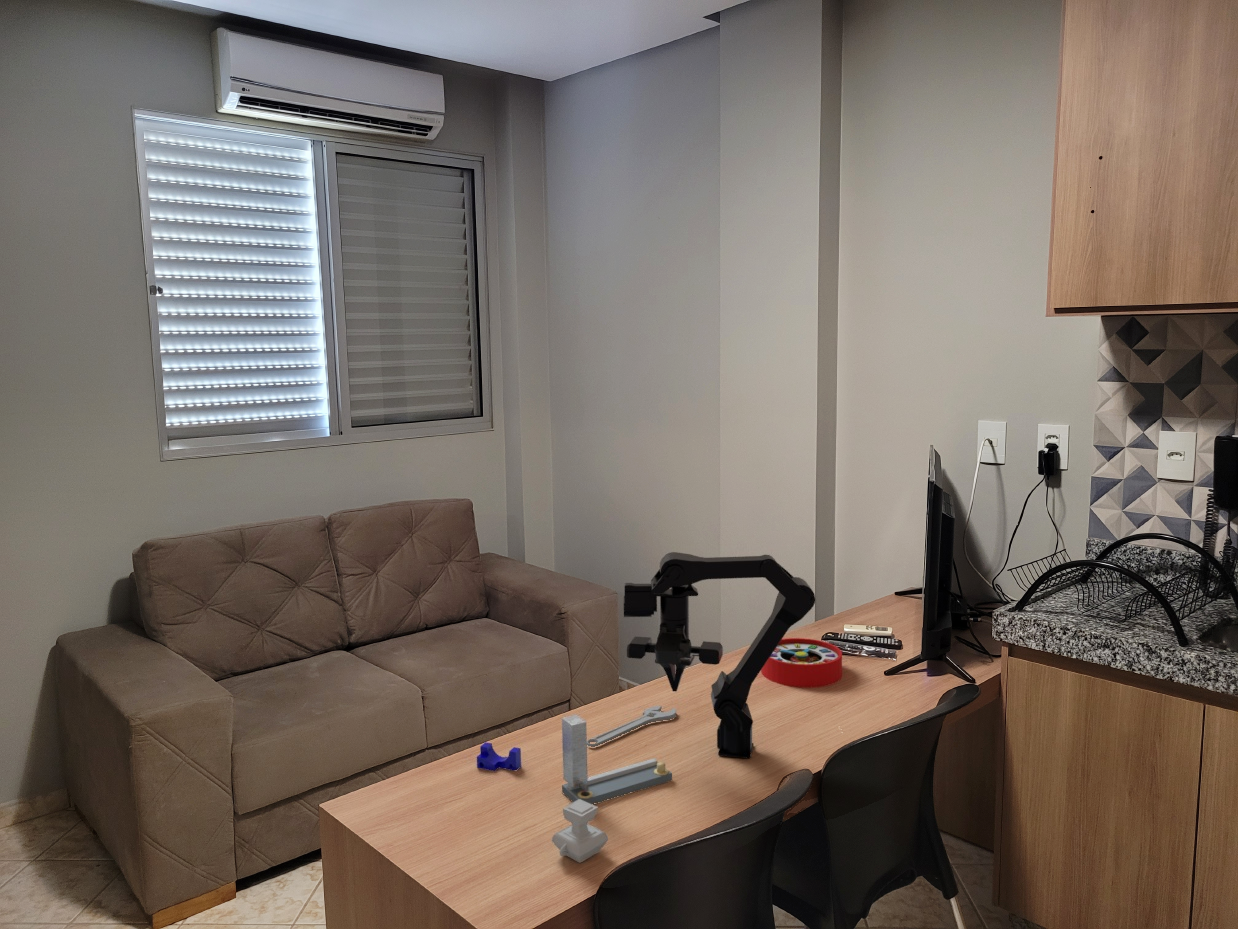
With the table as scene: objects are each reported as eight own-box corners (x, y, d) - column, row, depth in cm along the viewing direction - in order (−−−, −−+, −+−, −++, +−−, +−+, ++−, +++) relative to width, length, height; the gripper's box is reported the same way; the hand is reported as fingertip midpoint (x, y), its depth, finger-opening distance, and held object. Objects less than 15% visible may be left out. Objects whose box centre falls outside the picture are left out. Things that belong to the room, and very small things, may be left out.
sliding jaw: (577, 778, 169) (576, 714, 167) (593, 792, 163) (592, 726, 161) (563, 782, 167) (561, 717, 165) (579, 796, 162) (577, 730, 160)
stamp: (585, 835, 152) (584, 789, 151) (613, 850, 148) (613, 802, 147) (546, 858, 146) (545, 810, 145) (574, 874, 141) (573, 824, 140)
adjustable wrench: (592, 752, 184) (592, 744, 184) (574, 742, 189) (573, 734, 189) (680, 718, 200) (680, 710, 200) (661, 709, 205) (661, 702, 205)
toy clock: (823, 671, 211) (747, 655, 222) (823, 694, 212) (747, 677, 223) (854, 646, 227) (781, 633, 239) (853, 669, 228) (781, 654, 239)
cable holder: (477, 768, 178) (476, 749, 177) (486, 761, 181) (485, 742, 180) (512, 775, 175) (512, 756, 174) (521, 767, 178) (520, 748, 177)
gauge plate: (652, 766, 177) (652, 751, 177) (672, 780, 171) (672, 765, 171) (562, 792, 167) (561, 777, 167) (579, 809, 161) (579, 792, 161)
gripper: (619, 625, 174) (620, 702, 176) (714, 632, 169) (714, 710, 171) (633, 609, 185) (634, 681, 187) (723, 614, 180) (723, 689, 182)
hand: (675, 690), depth 181 cm, fingers closed
